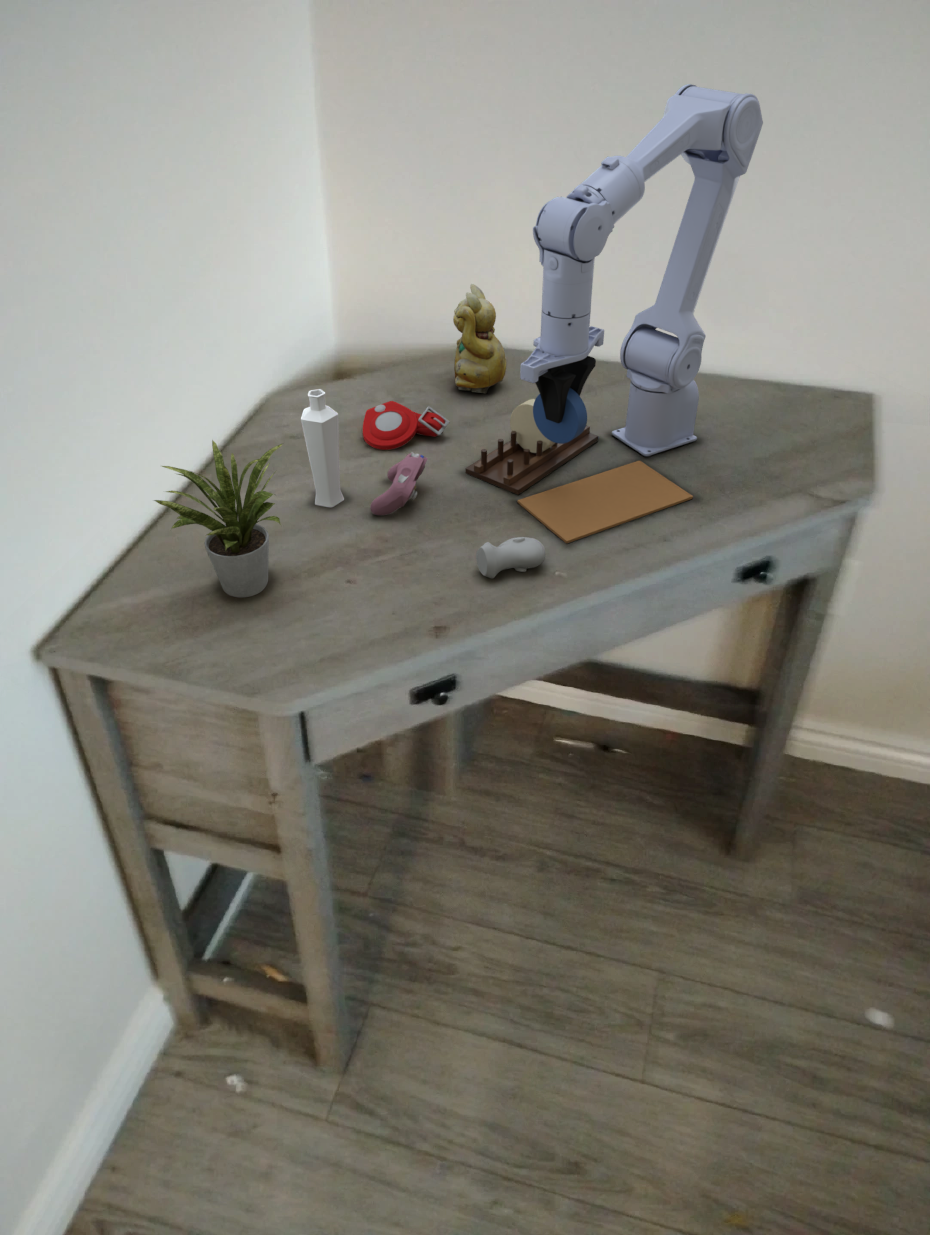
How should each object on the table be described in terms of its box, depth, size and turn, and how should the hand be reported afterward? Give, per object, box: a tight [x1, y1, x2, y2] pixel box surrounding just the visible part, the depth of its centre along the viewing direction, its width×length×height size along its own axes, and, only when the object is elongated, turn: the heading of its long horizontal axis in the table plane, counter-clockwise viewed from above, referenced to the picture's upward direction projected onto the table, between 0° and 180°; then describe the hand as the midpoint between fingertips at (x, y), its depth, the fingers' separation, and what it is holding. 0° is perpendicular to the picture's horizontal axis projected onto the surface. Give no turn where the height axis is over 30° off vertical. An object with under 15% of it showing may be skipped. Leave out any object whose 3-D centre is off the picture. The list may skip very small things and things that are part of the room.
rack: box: [464, 424, 599, 496], centre depth 129 cm, size 19×9×4 cm, turn 140°
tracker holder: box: [362, 400, 450, 451], centre depth 135 cm, size 12×4×10 cm
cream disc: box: [509, 398, 555, 453], centre depth 127 cm, size 2×7×7 cm, turn 50°
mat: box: [517, 460, 694, 544], centre depth 121 cm, size 20×11×1 cm, turn 120°
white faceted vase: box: [300, 388, 345, 508], centre depth 117 cm, size 5×4×15 cm
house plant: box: [152, 439, 285, 598], centre depth 103 cm, size 14×14×16 cm
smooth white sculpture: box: [475, 536, 546, 579], centre depth 108 cm, size 4×8×5 cm
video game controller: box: [369, 450, 429, 516], centre depth 120 cm, size 10×5×7 cm, turn 168°
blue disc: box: [533, 388, 588, 444], centre depth 117 cm, size 2×7×7 cm, turn 50°
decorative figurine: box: [452, 283, 507, 394], centre depth 143 cm, size 10×8×15 cm
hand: (559, 416), depth 117 cm, fingers closed on blue disc, 2 cm apart
